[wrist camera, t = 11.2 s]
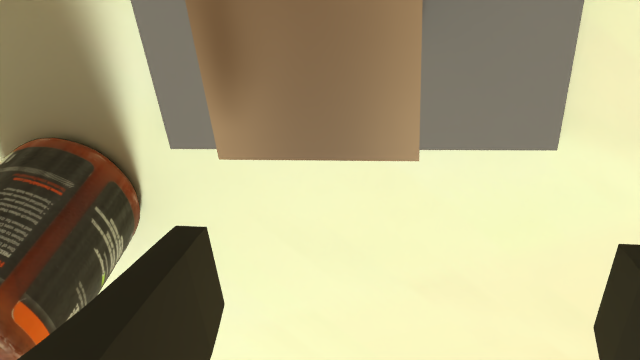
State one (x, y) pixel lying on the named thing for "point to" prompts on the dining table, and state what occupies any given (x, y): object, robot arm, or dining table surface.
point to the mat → (436, 72)
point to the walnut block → (311, 77)
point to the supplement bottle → (57, 236)
